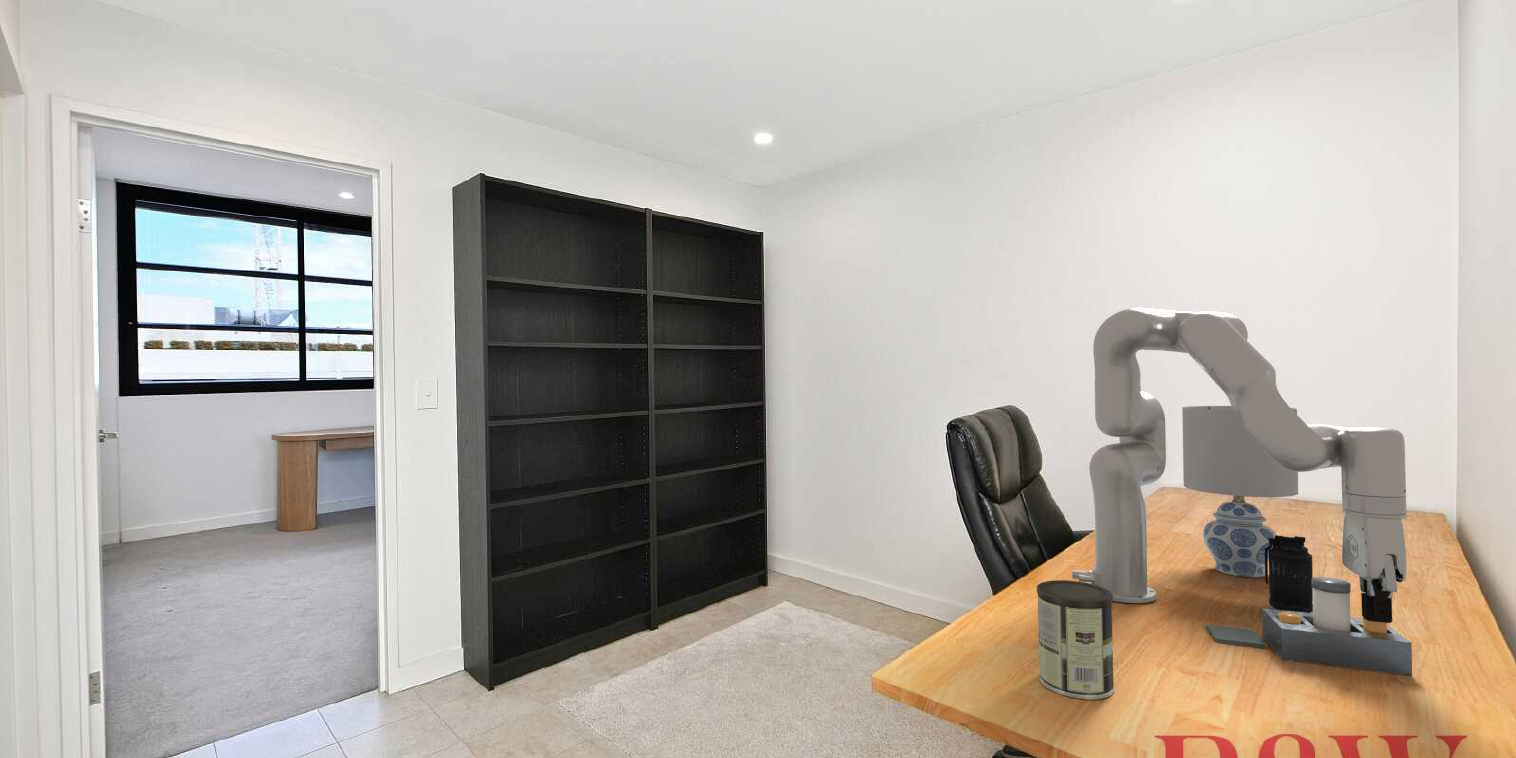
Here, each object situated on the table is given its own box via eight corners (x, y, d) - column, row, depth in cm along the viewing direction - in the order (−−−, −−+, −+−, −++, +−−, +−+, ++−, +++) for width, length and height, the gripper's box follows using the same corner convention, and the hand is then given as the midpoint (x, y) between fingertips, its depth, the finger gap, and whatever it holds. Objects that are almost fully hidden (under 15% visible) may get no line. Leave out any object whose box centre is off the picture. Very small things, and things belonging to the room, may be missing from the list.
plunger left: (1282, 646, 109) (1282, 616, 109) (1277, 640, 112) (1276, 611, 112) (1303, 649, 108) (1303, 618, 108) (1297, 642, 110) (1297, 613, 110)
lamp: (1187, 554, 168) (1185, 405, 168) (1296, 567, 155) (1293, 406, 155) (1182, 575, 151) (1179, 409, 151) (1303, 592, 138) (1300, 410, 138)
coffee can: (1077, 665, 105) (1076, 576, 105) (1131, 694, 95) (1129, 596, 95) (1023, 674, 102) (1021, 583, 102) (1072, 705, 92) (1070, 604, 92)
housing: (1282, 659, 106) (1281, 628, 106) (1262, 636, 115) (1262, 608, 115) (1412, 675, 100) (1411, 642, 100) (1380, 650, 109) (1380, 620, 109)
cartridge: (1319, 658, 106) (1318, 584, 106) (1308, 647, 111) (1307, 575, 111) (1357, 663, 104) (1356, 587, 104) (1344, 651, 109) (1343, 578, 109)
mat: (1215, 642, 113) (1215, 638, 113) (1206, 627, 120) (1206, 624, 120) (1265, 648, 111) (1265, 644, 111) (1253, 632, 117) (1252, 629, 117)
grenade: (1306, 611, 127) (1305, 533, 127) (1318, 622, 121) (1317, 541, 121) (1261, 606, 130) (1260, 530, 130) (1270, 617, 124) (1269, 537, 124)
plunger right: (1367, 653, 105) (1367, 621, 105) (1360, 646, 107) (1359, 615, 107) (1390, 655, 104) (1390, 623, 104) (1382, 648, 106) (1381, 617, 106)
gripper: (1325, 496, 114) (1328, 603, 113) (1364, 512, 100) (1368, 633, 100) (1381, 498, 111) (1384, 608, 111) (1430, 515, 97) (1433, 640, 97)
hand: (1377, 620), depth 105 cm, fingers closed
